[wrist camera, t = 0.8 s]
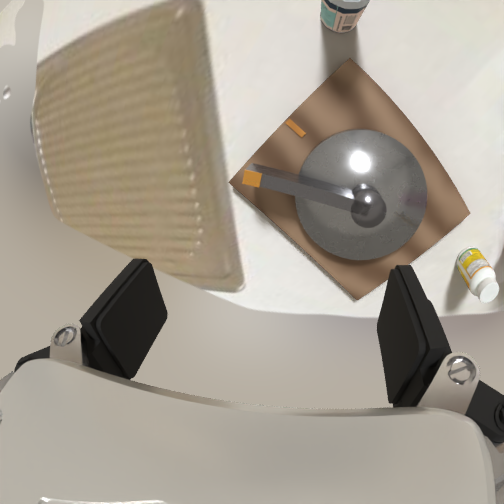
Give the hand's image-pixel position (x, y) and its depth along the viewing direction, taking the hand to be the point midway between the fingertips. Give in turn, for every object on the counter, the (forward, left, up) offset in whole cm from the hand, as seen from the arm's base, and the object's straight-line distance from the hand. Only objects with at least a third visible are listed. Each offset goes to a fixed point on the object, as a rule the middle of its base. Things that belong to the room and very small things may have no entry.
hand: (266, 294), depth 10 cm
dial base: (-2, +10, -30) cm, 32 cm away
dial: (0, +7, -28) cm, 29 cm away
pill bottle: (-18, -9, -30) cm, 36 cm away
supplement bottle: (-10, +33, -31) cm, 46 cm away
